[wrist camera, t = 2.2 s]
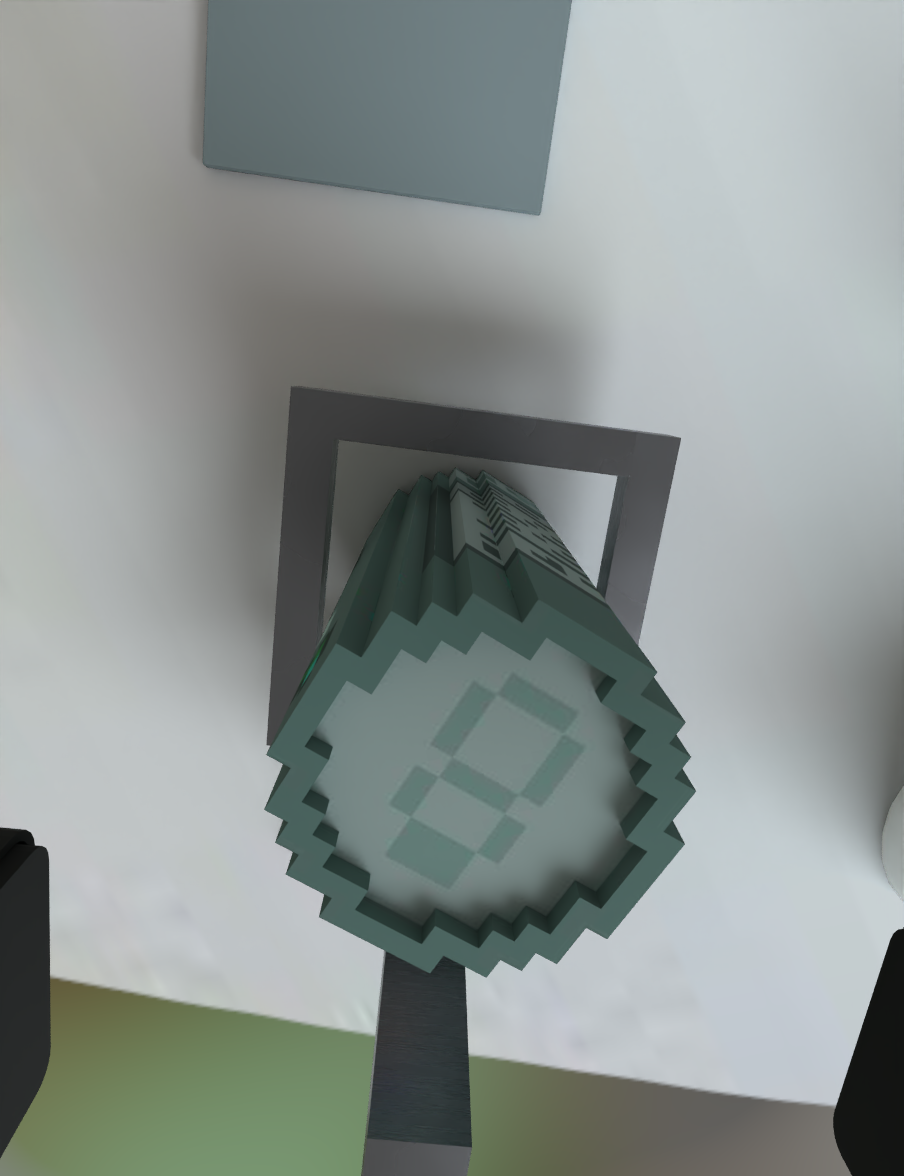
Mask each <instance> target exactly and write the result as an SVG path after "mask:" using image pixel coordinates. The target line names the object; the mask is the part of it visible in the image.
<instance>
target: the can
mask: <svg viewBox="0 0 904 1176" xmlns="http://www.w3.org/2000/svg"><path fill="white" fill-rule="evenodd" d="M656 673H657V671H656V670H655V668H654V667H653V666H652V664H651V663H650V662H649V660H648V659H647V657H646V656H645V655H644V653H643V652H642V651H641V649H640V648H639V647H638V645H637V644H636V642H635V641H634V640H633V638H632V637H631V636H630V634H629V633H628V631H627V630H626V629H625V627H624V626H623V625H622V623H621V622H620V621H619V619H618V618H617V616H616V615H615V614H614V612H613V611H612V610H611V608H610V607H609V605H608V604H607V603H606V601H605V600H604V599H603V597H602V596H601V594H600V593H599V592H598V590H597V589H596V588H595V586H594V585H593V584H592V582H591V581H590V579H589V578H588V577H587V575H586V574H585V573H584V571H583V570H582V568H581V567H580V566H579V564H578V563H577V562H576V560H575V559H574V558H573V556H572V555H571V553H570V552H569V551H568V549H567V548H566V547H565V545H564V544H563V542H562V541H561V540H560V538H559V537H558V536H557V534H556V533H555V531H554V530H553V529H552V527H551V526H550V525H549V523H548V522H547V521H546V519H545V518H544V516H543V515H542V514H541V512H540V511H539V510H538V508H537V507H536V505H535V504H534V503H533V502H532V501H530V500H529V499H527V498H526V497H524V496H522V495H521V494H519V493H518V492H516V491H515V490H513V489H512V488H510V487H508V486H507V485H505V484H504V483H502V482H501V481H499V480H497V479H496V478H494V477H493V476H491V475H490V474H488V473H487V472H485V471H483V470H482V472H481V473H480V475H479V476H478V478H477V479H476V480H475V479H473V478H471V477H470V476H468V475H467V474H465V473H464V472H462V471H460V470H459V469H457V468H456V467H455V468H454V470H453V472H452V473H451V475H450V476H449V477H447V476H445V475H444V474H442V473H441V472H439V471H438V473H437V474H436V476H435V477H434V479H433V481H430V480H429V479H427V478H426V477H424V476H423V475H421V477H420V478H419V480H418V481H417V483H416V485H415V486H414V488H413V489H412V491H411V493H410V494H409V495H407V494H406V493H404V492H402V491H401V490H399V489H398V490H397V492H396V494H395V495H394V497H393V499H392V500H391V502H390V503H389V505H388V507H387V508H386V510H385V512H384V513H383V515H382V517H381V518H380V520H379V521H378V523H377V525H376V526H375V528H374V530H373V531H372V533H371V534H370V536H369V538H368V539H367V541H366V544H365V546H364V548H363V550H362V552H361V554H360V556H359V558H358V561H357V563H356V565H355V567H354V569H353V571H352V573H351V575H350V578H349V580H348V582H347V584H346V586H345V588H344V590H343V593H342V595H341V597H340V599H339V601H338V603H337V605H336V607H335V610H334V612H333V614H332V616H331V618H330V620H329V622H328V624H327V627H326V629H325V631H324V633H323V635H322V637H321V639H320V642H319V644H318V646H317V648H316V650H315V652H314V654H313V656H312V659H311V661H310V663H309V665H308V667H307V669H306V671H305V673H304V676H303V678H302V680H301V682H300V684H299V686H298V688H297V691H296V693H295V695H294V697H293V699H292V701H291V703H290V705H289V708H288V710H287V712H286V714H285V716H284V718H283V720H282V722H281V725H280V727H279V729H278V731H277V733H276V735H275V737H274V740H273V742H272V744H271V746H270V748H269V750H268V752H267V754H266V755H267V756H269V757H271V758H273V759H275V760H277V761H279V762H280V763H282V764H283V766H282V768H281V771H280V773H279V775H278V778H277V780H276V783H275V785H274V787H273V790H272V792H271V795H270V797H269V800H268V802H267V804H266V807H265V809H264V810H266V811H268V812H269V813H271V814H273V815H275V816H277V817H279V818H281V819H283V822H282V825H281V828H280V831H279V833H278V836H277V839H276V842H275V843H277V844H279V845H281V846H283V847H285V848H287V849H289V850H290V851H292V852H293V853H292V856H291V860H290V863H289V866H288V869H287V872H286V875H288V876H290V877H292V878H294V879H296V880H298V881H300V882H302V883H303V884H305V885H307V886H309V887H311V888H313V889H315V890H317V891H319V892H321V893H323V894H324V898H323V902H322V907H321V911H320V915H319V917H320V918H322V919H324V920H326V921H328V922H330V923H332V924H334V925H336V926H338V927H340V928H342V929H343V930H345V931H347V932H349V933H351V934H353V935H355V936H357V937H359V938H361V939H363V940H365V941H367V942H369V943H371V944H373V945H375V946H377V947H379V948H381V949H383V950H385V951H387V952H389V953H391V954H393V955H395V956H397V957H399V958H400V959H402V960H404V961H406V962H408V963H410V964H412V965H414V966H416V967H418V968H420V969H422V970H424V971H426V972H428V973H431V971H432V970H433V969H434V967H435V966H436V965H437V964H438V962H439V961H440V960H441V958H442V957H443V956H445V957H447V958H449V959H451V960H453V961H455V962H457V963H459V964H461V965H463V966H465V967H467V968H469V969H471V970H472V971H474V972H476V973H478V974H480V975H482V976H484V977H486V978H487V976H488V975H489V974H490V972H491V971H492V970H493V969H494V967H495V966H496V965H497V963H498V962H499V961H500V960H502V961H504V962H505V963H507V964H509V965H511V966H513V967H515V968H517V969H519V970H521V971H522V970H523V968H524V967H525V966H526V965H527V963H528V962H529V961H530V960H531V958H532V957H533V956H534V955H535V953H537V954H539V955H541V956H542V957H544V958H546V959H548V960H550V961H552V962H554V963H556V964H557V963H558V962H559V961H560V960H561V958H562V957H563V956H564V955H565V953H566V952H567V951H568V950H569V948H570V947H571V946H572V945H573V943H574V942H575V941H576V940H577V938H578V937H579V936H580V935H581V933H582V932H583V931H584V930H585V929H586V928H588V929H589V930H591V931H593V932H595V933H597V934H599V935H600V936H602V937H604V938H606V939H608V937H609V936H610V935H611V934H612V933H613V931H614V930H615V929H616V928H617V926H618V925H619V924H620V923H621V922H622V920H623V919H624V918H625V917H626V915H627V914H628V913H629V912H630V911H631V909H632V908H633V907H634V906H635V904H636V903H637V902H638V901H639V900H640V898H641V897H642V896H643V895H644V893H645V892H646V891H647V890H648V889H649V887H650V886H651V885H652V884H653V882H654V881H655V880H656V879H657V878H658V876H659V875H660V874H661V873H662V871H663V870H664V869H665V868H666V867H667V865H668V864H669V863H670V862H671V860H672V859H673V858H674V857H675V856H676V854H677V853H678V852H679V851H680V850H681V848H682V847H683V846H684V845H685V843H684V841H683V840H682V838H681V836H680V834H679V832H678V830H677V828H676V826H675V824H674V822H673V819H674V818H675V817H676V816H677V814H678V813H679V812H680V811H681V809H682V808H683V807H684V806H685V804H686V803H687V802H688V801H689V799H690V798H691V797H692V796H693V795H694V793H695V792H696V790H695V788H694V787H693V785H692V784H691V782H690V780H689V779H688V777H687V775H686V774H685V772H684V771H683V769H682V768H683V767H684V765H685V764H686V763H687V762H688V760H689V759H690V758H691V756H690V755H689V753H688V752H687V750H686V749H685V747H684V746H683V744H682V743H681V741H680V740H679V738H678V737H677V735H676V734H677V733H678V732H679V730H680V729H681V728H682V726H683V725H684V724H685V723H686V722H685V721H684V719H683V718H682V716H681V715H680V714H679V712H678V711H677V709H676V708H675V707H674V705H673V704H672V702H671V701H670V699H669V698H668V697H667V695H666V694H665V692H664V691H663V690H662V688H661V687H660V685H659V684H658V682H657V681H656V680H655V678H654V676H655V675H656Z"/></svg>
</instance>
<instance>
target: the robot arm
mask: <svg viewBox="0 0 904 1176" xmlns="http://www.w3.org/2000/svg"><path fill="white" fill-rule="evenodd" d="M50 1044H51V1042H50V923H49V856H48V851H47V849H46V848H45V847H43V846H35V843H34V838H33V836H32V834H31V832H29V831H27V830H21V829H11V828H0V1158H1V1156H2V1154H3V1152H4V1150H5V1149H6V1147H7V1145H8V1144H9V1142H10V1140H11V1138H12V1137H13V1135H14V1133H15V1131H16V1129H17V1128H18V1126H19V1124H20V1122H21V1121H22V1119H23V1117H24V1115H25V1114H26V1112H27V1110H28V1108H29V1106H30V1105H31V1103H32V1101H33V1099H34V1097H35V1096H36V1094H37V1092H38V1090H39V1088H40V1086H41V1084H42V1081H43V1078H44V1076H45V1073H46V1070H47V1066H48V1062H49V1057H50V1047H51V1045H50ZM833 1128H834V1135H835V1139H836V1143H837V1146H838V1149H839V1151H840V1153H841V1156H842V1158H843V1160H844V1161H845V1163H846V1165H847V1167H848V1169H849V1171H850V1172H851V1175H852V1176H904V928H903V929H899V930H897V931H896V932H895V933H894V934H893V936H892V938H891V939H890V942H889V945H888V949H887V952H886V955H885V958H884V961H883V964H882V967H881V970H880V973H879V976H878V979H877V982H876V985H875V988H874V992H873V995H872V998H871V1001H870V1004H869V1007H868V1010H867V1013H866V1016H865V1019H864V1022H863V1025H862V1028H861V1031H860V1034H859V1038H858V1041H857V1044H856V1047H855V1050H854V1053H853V1056H852V1059H851V1062H850V1065H849V1068H848V1071H847V1074H846V1077H845V1081H844V1084H843V1087H842V1090H841V1093H840V1096H839V1099H838V1102H837V1105H836V1108H835V1112H834V1117H833Z"/></svg>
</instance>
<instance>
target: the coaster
mask: <svg viewBox="0 0 904 1176" xmlns="http://www.w3.org/2000/svg"><path fill="white" fill-rule="evenodd" d="M571 3H572V0H208V28H207V57H206V86H205V114H204V143H203V164H204V165H205V166H206V167H208V168H215V169H222V170H229V171H236V172H242V173H249V174H256V175H263V176H270V177H277V178H284V179H291V180H298V181H305V182H311V183H318V184H325V185H332V186H339V187H346V188H353V189H360V190H367V191H374V192H380V193H387V194H394V195H401V196H408V197H415V198H422V199H429V200H436V201H442V202H449V203H456V204H463V205H470V206H477V207H484V208H491V209H498V210H505V211H511V212H518V213H525V214H532V215H540V213H541V208H542V201H543V194H544V187H545V180H546V174H547V167H548V160H549V153H550V146H551V140H552V133H553V126H554V119H555V112H556V105H557V99H558V92H559V85H560V78H561V71H562V65H563V58H564V51H565V44H566V37H567V30H568V24H569V17H570V10H571Z"/></svg>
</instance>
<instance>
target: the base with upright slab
mask: <svg viewBox="0 0 904 1176" xmlns="http://www.w3.org/2000/svg"><path fill="white" fill-rule="evenodd" d="M882 862H883V865H884V869H885V872H886V875H887V878H888V881H889V884H890V885H891V886H892V888H893V889H894V890H895V892H896V893H897V894H898V896H899V897H900V899H901V900H902V901H903V903H904V785H903V787H902V789H901V790H900V792H899V793H898V795H897V797H896V798H895V800H894V801H893V803H892V805H891V806H890V809H889V812H888V816H887V819H886V822H885V825H884V828H883V832H882Z"/></svg>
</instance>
